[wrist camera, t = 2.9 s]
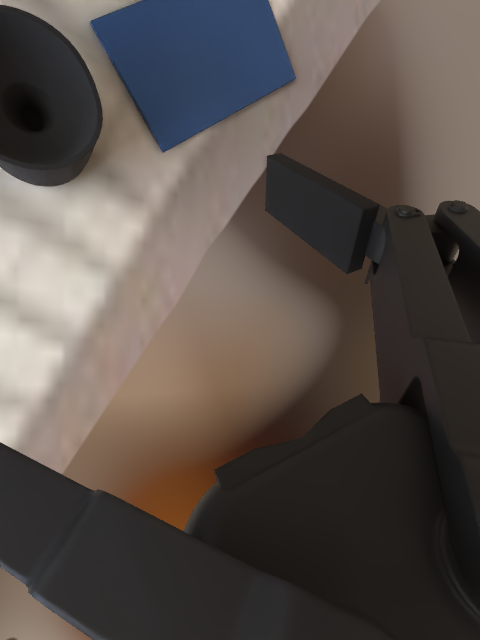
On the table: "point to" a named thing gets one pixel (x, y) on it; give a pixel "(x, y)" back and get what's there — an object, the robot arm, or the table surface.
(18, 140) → the pen holder
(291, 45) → the table surface
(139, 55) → the blue cloth
